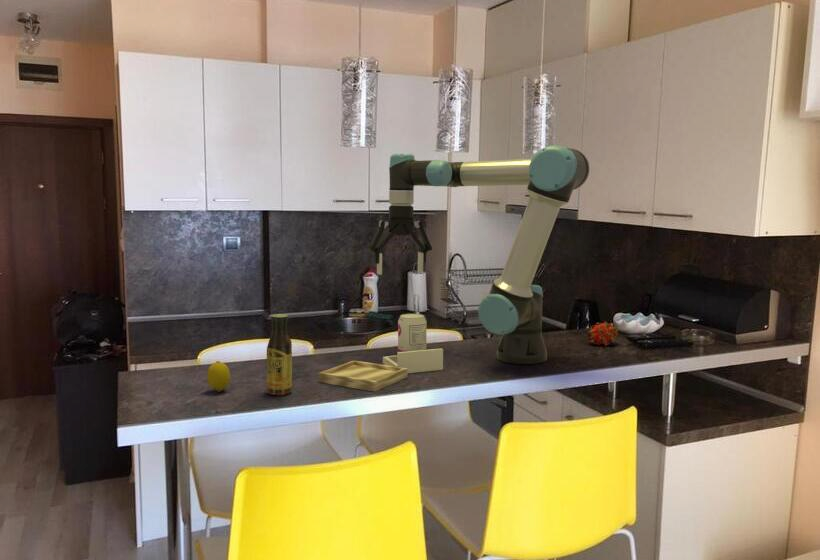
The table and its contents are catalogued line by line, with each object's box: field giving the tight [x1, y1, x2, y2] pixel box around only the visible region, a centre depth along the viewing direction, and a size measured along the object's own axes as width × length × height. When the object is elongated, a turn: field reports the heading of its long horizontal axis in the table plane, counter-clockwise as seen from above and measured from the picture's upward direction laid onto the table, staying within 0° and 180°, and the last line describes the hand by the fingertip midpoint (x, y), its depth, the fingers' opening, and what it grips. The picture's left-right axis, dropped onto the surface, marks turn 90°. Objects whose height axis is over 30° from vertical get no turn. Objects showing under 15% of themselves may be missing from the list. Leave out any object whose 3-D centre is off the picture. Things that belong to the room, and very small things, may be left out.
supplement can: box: [397, 313, 427, 352], centre depth 192 cm, size 8×8×15 cm
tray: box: [318, 360, 409, 393], centre depth 178 cm, size 18×16×2 cm
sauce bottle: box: [266, 313, 293, 397], centre depth 165 cm, size 6×6×20 cm
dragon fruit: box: [586, 320, 619, 347], centre depth 221 cm, size 8×8×12 cm
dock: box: [382, 348, 444, 374], centre depth 192 cm, size 14×14×6 cm
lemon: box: [206, 360, 231, 393], centre depth 167 cm, size 6×6×8 cm
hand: (400, 273), depth 206 cm, fingers open, 13 cm apart
